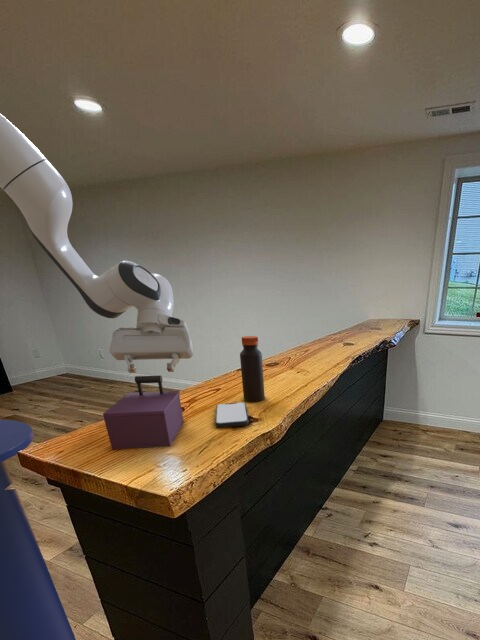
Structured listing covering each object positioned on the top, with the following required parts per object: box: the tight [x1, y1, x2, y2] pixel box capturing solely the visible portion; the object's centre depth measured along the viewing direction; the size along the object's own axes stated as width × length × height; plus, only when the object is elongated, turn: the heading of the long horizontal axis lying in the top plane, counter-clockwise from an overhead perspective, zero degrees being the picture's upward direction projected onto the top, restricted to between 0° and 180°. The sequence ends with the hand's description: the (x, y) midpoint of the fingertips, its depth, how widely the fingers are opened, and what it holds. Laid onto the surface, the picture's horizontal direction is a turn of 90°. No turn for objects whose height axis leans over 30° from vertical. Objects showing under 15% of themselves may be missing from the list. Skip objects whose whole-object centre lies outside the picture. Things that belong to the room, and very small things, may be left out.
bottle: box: [239, 335, 266, 403], centre depth 110 cm, size 7×7×20 cm
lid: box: [102, 375, 181, 418], centre depth 83 cm, size 16×13×6 cm
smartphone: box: [214, 402, 250, 429], centre depth 99 cm, size 9×2×16 cm
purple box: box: [103, 394, 185, 450], centre depth 85 cm, size 16×13×8 cm
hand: (151, 371), depth 90 cm, fingers open, 8 cm apart
